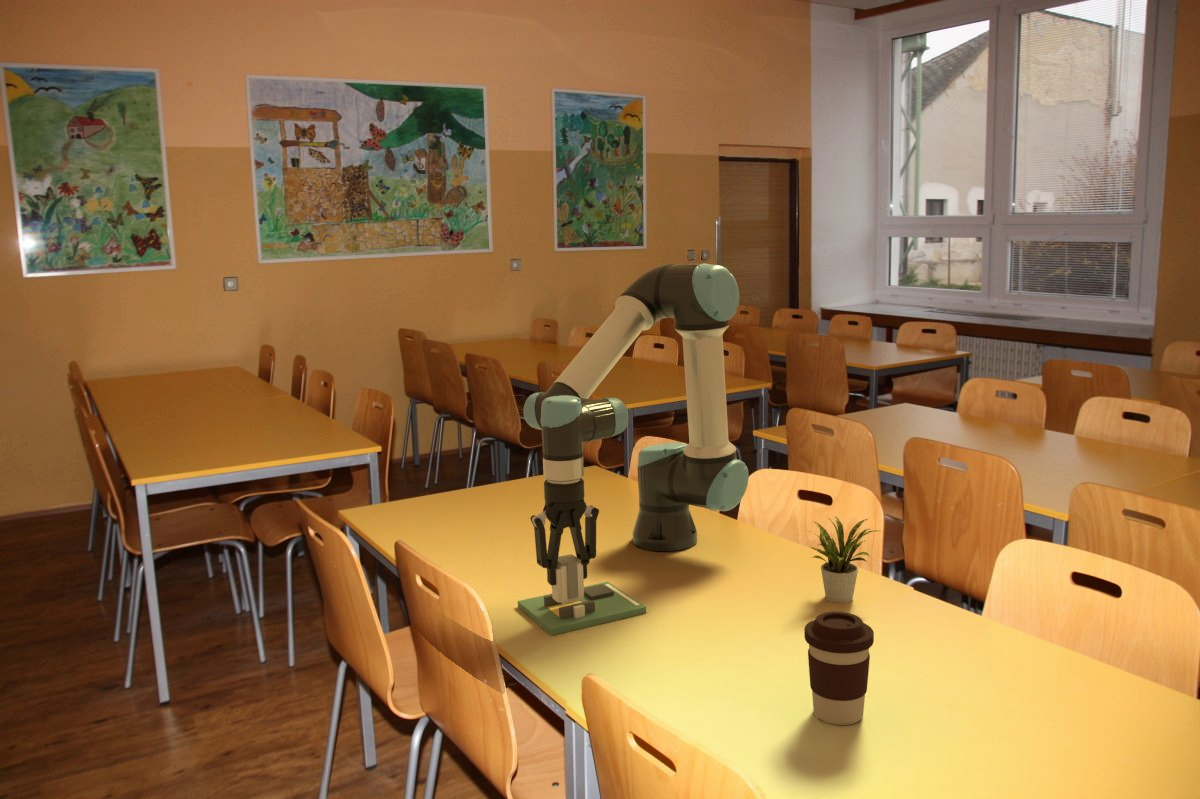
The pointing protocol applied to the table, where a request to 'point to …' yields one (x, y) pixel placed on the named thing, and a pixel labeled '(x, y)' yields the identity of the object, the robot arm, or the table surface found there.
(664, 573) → the table surface
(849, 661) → the coffee cup
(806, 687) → the table surface
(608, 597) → the board
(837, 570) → the house plant
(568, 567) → the plug
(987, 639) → the table surface
